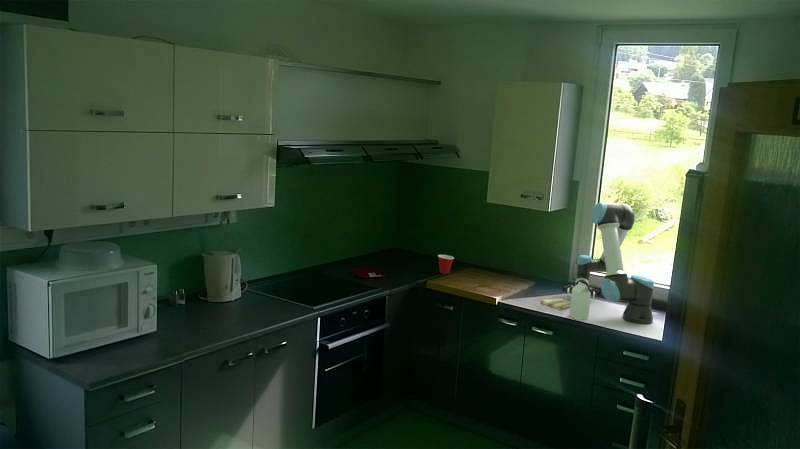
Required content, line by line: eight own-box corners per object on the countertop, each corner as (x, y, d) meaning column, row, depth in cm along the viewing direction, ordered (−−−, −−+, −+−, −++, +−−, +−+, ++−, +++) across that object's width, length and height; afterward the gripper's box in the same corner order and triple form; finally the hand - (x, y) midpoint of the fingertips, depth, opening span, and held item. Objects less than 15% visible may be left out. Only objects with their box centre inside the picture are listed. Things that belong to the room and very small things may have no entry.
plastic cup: (455, 275, 409) (456, 257, 407) (439, 276, 406) (440, 257, 404) (450, 271, 419) (451, 254, 417) (434, 271, 416) (435, 254, 414)
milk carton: (576, 320, 330) (579, 285, 327) (568, 315, 337) (572, 281, 334) (587, 319, 332) (591, 285, 329) (580, 315, 339) (584, 281, 336)
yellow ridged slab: (577, 306, 356) (577, 303, 356) (563, 310, 347) (563, 307, 347) (554, 299, 367) (554, 297, 367) (540, 303, 358) (540, 300, 358)
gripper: (603, 295, 359) (604, 304, 339) (558, 289, 366) (556, 298, 346) (605, 282, 358) (605, 291, 338) (560, 276, 365) (558, 285, 345)
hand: (580, 295), depth 342 cm, fingers open, 13 cm apart
